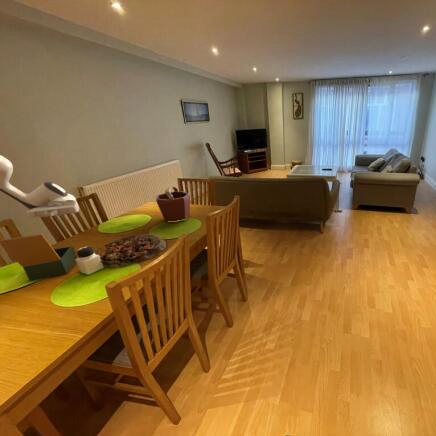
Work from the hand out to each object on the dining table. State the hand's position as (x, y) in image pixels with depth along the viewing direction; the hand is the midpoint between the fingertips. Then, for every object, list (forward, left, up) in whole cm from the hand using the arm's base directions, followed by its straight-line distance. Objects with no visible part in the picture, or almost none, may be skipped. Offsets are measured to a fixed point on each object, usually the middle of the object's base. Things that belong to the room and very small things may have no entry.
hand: (47, 215), depth 122 cm
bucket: (+65, +13, -25) cm, 70 cm away
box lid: (-8, -22, -8) cm, 25 cm away
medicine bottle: (+9, -26, -25) cm, 37 cm away
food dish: (+28, -20, -25) cm, 42 cm away
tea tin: (-4, -12, -25) cm, 28 cm away
